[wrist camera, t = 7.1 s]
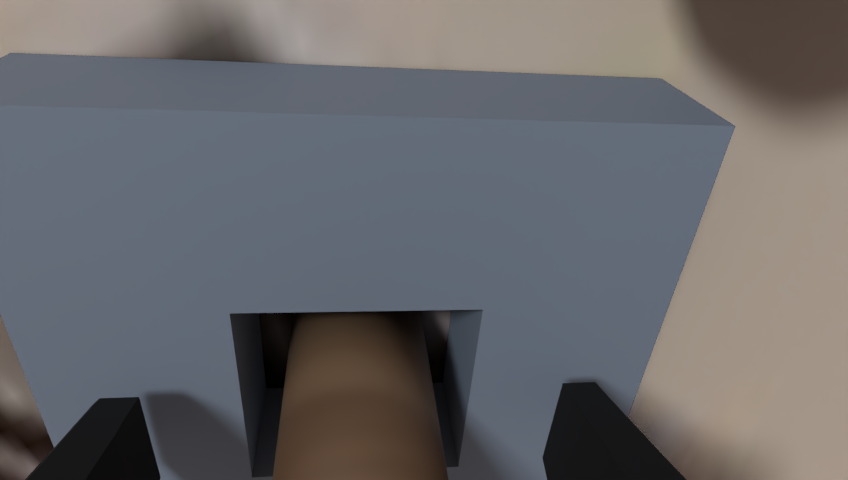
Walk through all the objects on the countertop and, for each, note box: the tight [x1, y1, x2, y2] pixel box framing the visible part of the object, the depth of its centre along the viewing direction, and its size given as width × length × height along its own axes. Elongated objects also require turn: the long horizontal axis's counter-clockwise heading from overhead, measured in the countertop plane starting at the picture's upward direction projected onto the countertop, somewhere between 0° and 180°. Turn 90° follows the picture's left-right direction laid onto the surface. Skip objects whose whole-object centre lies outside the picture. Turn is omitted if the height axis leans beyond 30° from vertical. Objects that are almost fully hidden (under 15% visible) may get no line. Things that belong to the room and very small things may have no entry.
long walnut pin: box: [272, 311, 448, 480], centre depth 10 cm, size 3×3×7 cm
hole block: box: [0, 53, 735, 480], centre depth 12 cm, size 11×11×2 cm
